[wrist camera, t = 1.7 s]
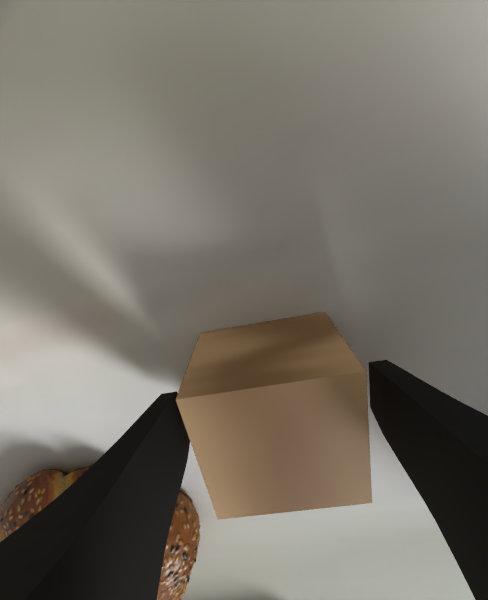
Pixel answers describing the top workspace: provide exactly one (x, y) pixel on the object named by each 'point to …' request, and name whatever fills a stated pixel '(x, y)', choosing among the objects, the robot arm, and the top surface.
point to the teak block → (278, 417)
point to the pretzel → (53, 483)
